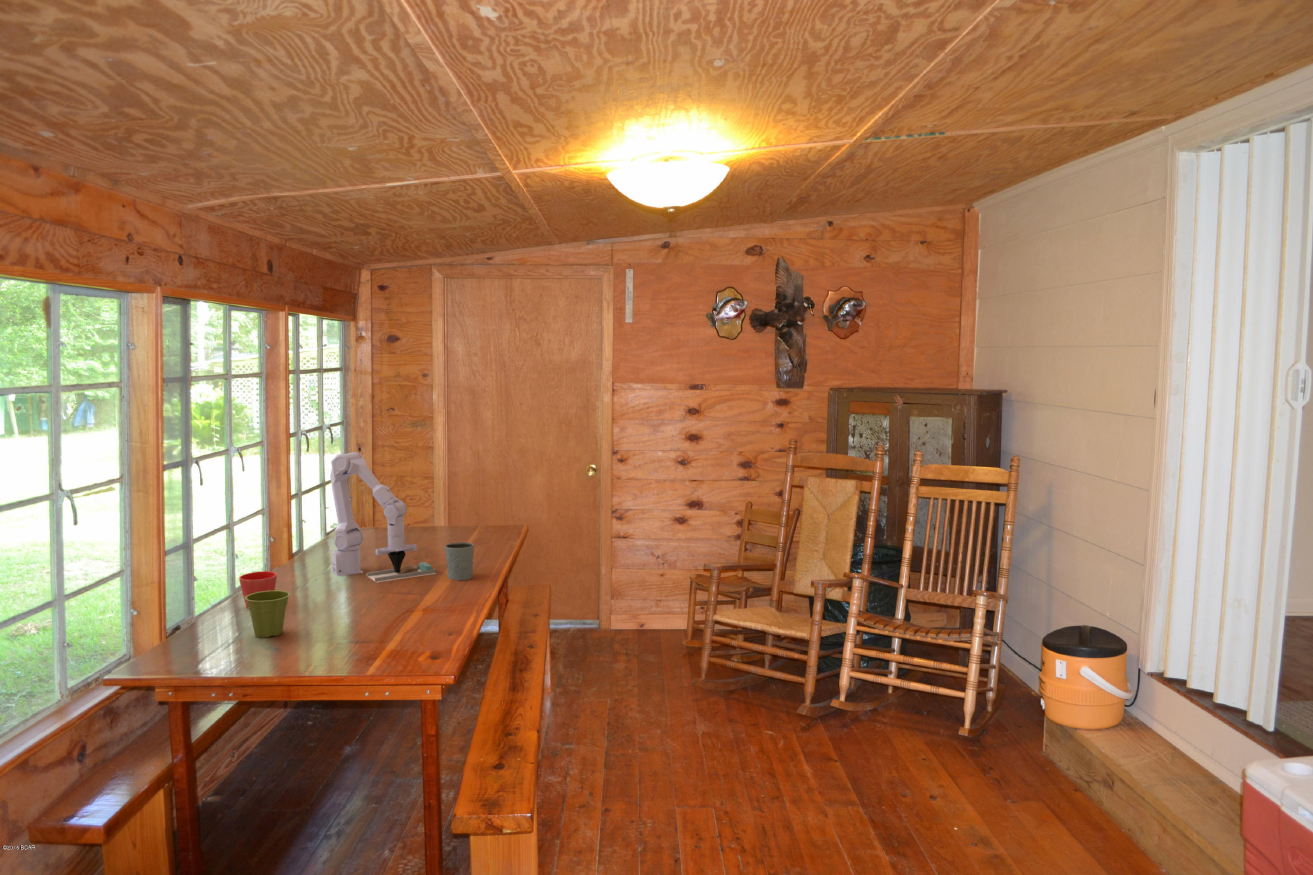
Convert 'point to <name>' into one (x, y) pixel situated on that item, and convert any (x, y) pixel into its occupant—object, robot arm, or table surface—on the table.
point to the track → (391, 575)
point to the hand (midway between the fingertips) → (397, 572)
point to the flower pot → (257, 583)
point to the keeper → (408, 569)
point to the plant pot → (268, 611)
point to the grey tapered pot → (459, 560)
